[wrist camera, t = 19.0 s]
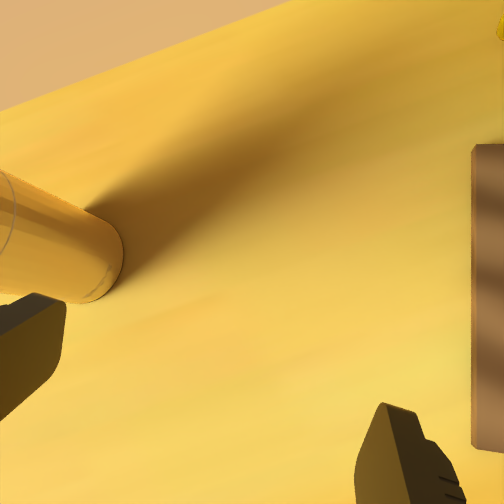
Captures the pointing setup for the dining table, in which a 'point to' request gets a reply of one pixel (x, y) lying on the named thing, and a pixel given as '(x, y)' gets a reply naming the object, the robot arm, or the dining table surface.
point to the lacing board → (487, 297)
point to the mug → (501, 28)
